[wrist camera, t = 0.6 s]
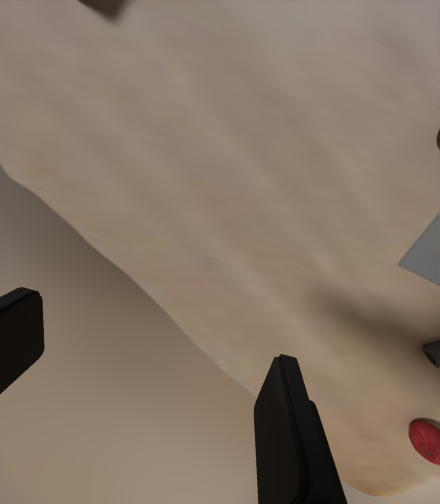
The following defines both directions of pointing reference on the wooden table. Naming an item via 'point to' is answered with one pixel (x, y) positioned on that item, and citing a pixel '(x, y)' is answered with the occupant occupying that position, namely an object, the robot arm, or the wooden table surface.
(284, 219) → the wooden table surface
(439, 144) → the dowel
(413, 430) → the onion
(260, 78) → the wooden table surface
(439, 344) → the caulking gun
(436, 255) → the mat
